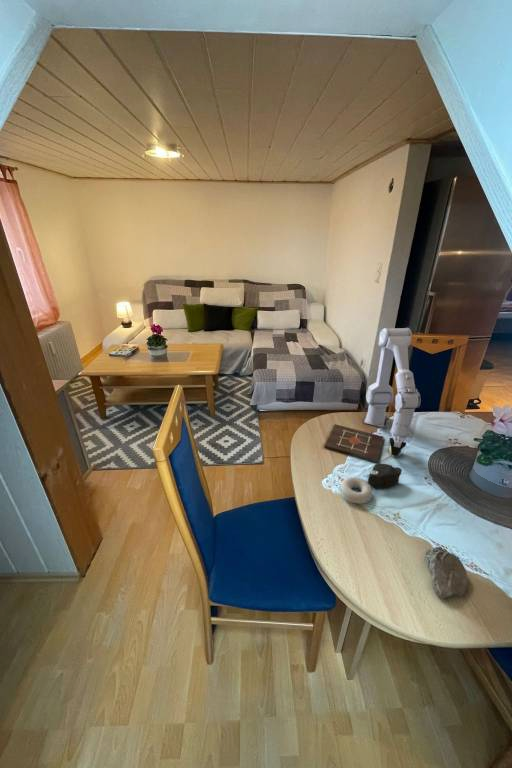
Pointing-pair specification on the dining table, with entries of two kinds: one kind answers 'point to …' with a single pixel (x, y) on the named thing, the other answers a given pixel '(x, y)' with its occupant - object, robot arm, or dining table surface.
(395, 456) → the alphabet block
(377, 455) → the board
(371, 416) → the robot arm
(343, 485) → the donut
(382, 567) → the dining table surface
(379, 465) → the mineral
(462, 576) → the brown rock
